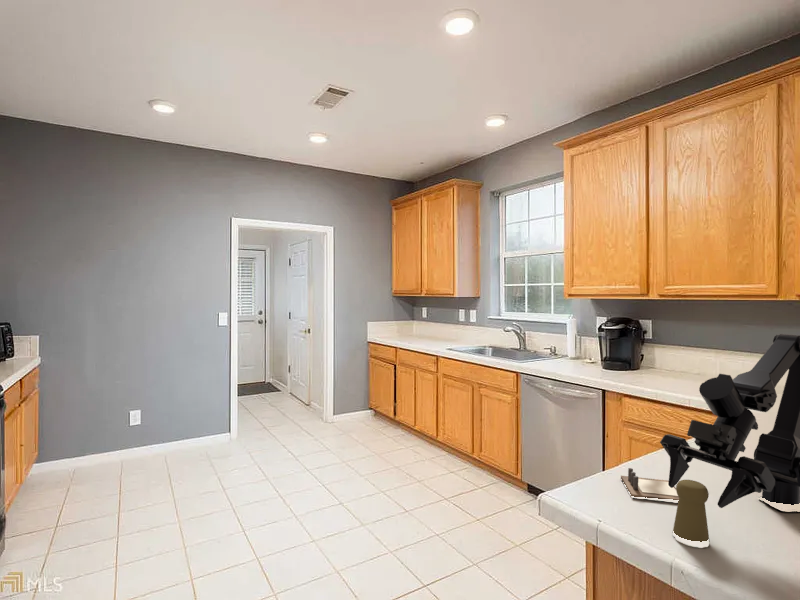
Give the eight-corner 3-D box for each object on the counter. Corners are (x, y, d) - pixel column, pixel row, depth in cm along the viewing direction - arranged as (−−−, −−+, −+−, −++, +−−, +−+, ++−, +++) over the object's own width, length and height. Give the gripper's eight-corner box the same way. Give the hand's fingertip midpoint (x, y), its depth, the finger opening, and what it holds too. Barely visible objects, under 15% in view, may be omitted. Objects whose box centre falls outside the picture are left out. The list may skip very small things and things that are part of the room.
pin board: (669, 484, 112) (669, 468, 112) (685, 504, 101) (686, 486, 101) (620, 479, 114) (621, 463, 114) (631, 498, 104) (632, 481, 104)
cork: (695, 531, 90) (696, 475, 90) (717, 548, 84) (719, 489, 84) (665, 531, 90) (666, 475, 89) (685, 548, 84) (687, 489, 83)
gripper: (667, 395, 97) (630, 454, 93) (769, 418, 81) (730, 490, 76) (688, 428, 101) (654, 486, 96) (790, 456, 84) (755, 528, 79)
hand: (693, 495), depth 87 cm, fingers open, 9 cm apart
